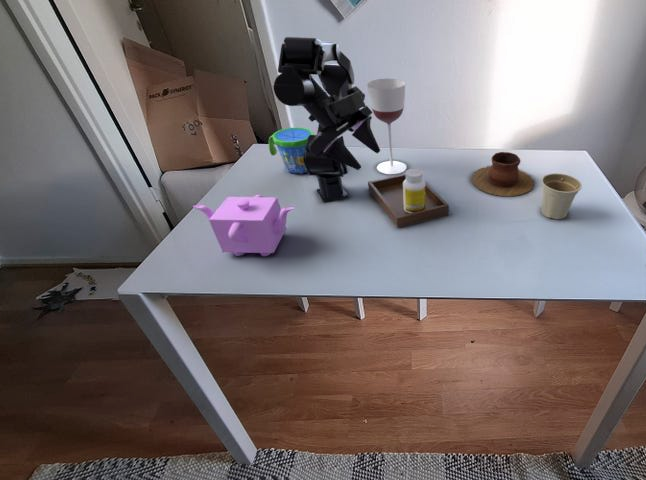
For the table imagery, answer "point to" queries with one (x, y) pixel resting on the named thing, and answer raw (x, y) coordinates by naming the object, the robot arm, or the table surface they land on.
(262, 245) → the teapot
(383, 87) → the wineglass
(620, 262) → the table surface
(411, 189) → the supplement bottle
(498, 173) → the ceramic pot
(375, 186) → the tray
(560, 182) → the flower pot
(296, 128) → the snack cup
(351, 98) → the robot arm
